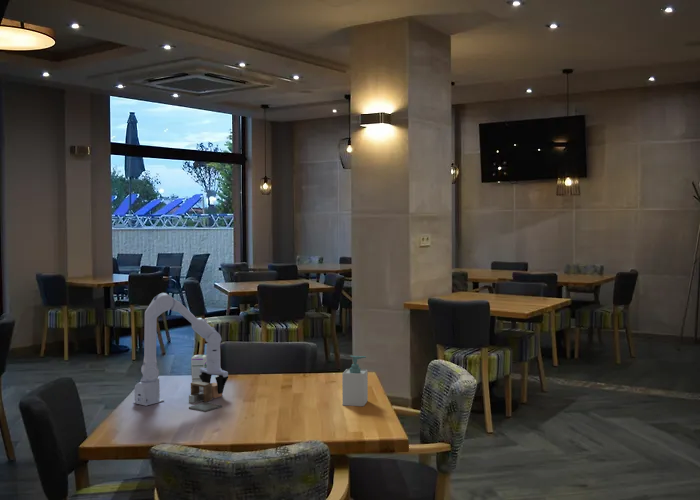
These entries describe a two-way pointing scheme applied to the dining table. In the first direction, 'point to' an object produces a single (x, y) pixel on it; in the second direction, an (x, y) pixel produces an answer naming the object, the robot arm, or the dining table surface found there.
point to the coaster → (205, 406)
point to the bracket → (206, 389)
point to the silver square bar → (196, 397)
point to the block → (215, 391)
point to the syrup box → (198, 367)
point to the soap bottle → (355, 384)
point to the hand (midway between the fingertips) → (213, 392)
